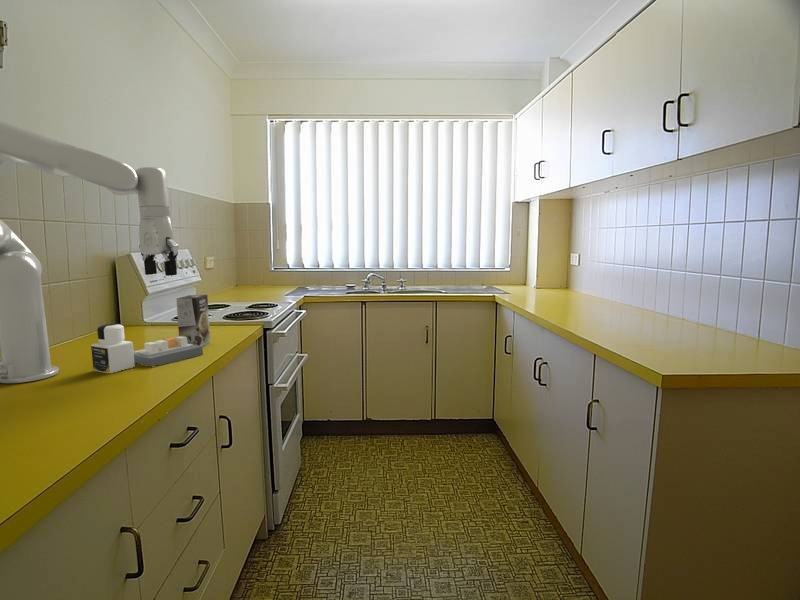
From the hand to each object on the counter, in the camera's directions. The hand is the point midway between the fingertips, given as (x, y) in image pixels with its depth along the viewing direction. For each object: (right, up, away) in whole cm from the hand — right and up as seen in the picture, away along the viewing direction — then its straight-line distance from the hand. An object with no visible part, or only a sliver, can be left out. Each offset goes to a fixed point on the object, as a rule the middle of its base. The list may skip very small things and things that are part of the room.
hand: (161, 274), depth 139 cm
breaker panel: (0, -24, +3) cm, 24 cm away
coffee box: (+2, -22, +18) cm, 29 cm away
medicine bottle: (-8, -26, -8) cm, 28 cm away
